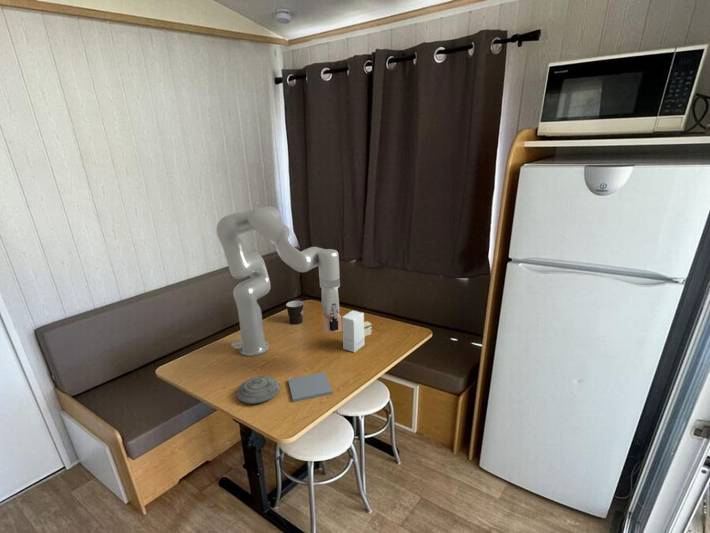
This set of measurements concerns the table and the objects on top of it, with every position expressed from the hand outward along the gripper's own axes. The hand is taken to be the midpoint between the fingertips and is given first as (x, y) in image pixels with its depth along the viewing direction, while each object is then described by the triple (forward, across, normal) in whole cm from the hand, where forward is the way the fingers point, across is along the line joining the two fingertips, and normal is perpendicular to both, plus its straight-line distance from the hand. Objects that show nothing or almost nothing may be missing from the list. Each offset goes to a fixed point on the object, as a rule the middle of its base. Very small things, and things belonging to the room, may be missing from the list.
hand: (332, 326), depth 145 cm
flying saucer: (+18, +8, -30) cm, 36 cm away
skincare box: (+18, -12, +12) cm, 24 cm away
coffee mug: (+18, -49, -7) cm, 52 cm away
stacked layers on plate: (+18, -22, +20) cm, 35 cm away
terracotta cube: (+1, 0, 0) cm, 1 cm away
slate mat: (+17, +11, -12) cm, 24 cm away
